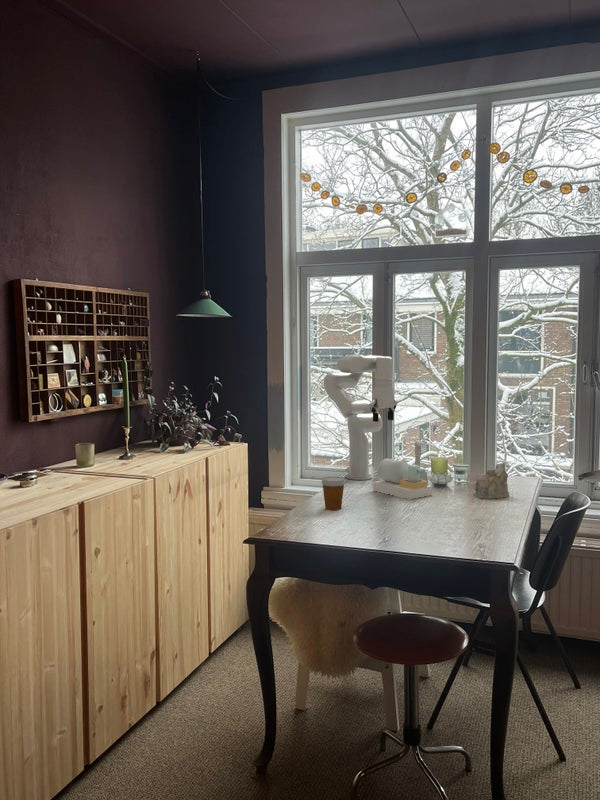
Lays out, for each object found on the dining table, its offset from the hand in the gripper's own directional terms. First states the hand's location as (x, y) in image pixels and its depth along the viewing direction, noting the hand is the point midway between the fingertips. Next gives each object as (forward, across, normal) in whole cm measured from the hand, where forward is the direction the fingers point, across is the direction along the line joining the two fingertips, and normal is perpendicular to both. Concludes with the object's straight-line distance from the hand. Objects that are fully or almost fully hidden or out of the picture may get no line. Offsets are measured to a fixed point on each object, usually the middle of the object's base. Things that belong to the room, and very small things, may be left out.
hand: (383, 420), depth 305 cm
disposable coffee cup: (+30, +46, +18) cm, 58 cm away
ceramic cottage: (+30, -24, +42) cm, 57 cm away
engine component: (+30, -16, +7) cm, 35 cm away
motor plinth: (+30, +4, +16) cm, 34 cm away
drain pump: (+26, +4, +24) cm, 36 cm away
